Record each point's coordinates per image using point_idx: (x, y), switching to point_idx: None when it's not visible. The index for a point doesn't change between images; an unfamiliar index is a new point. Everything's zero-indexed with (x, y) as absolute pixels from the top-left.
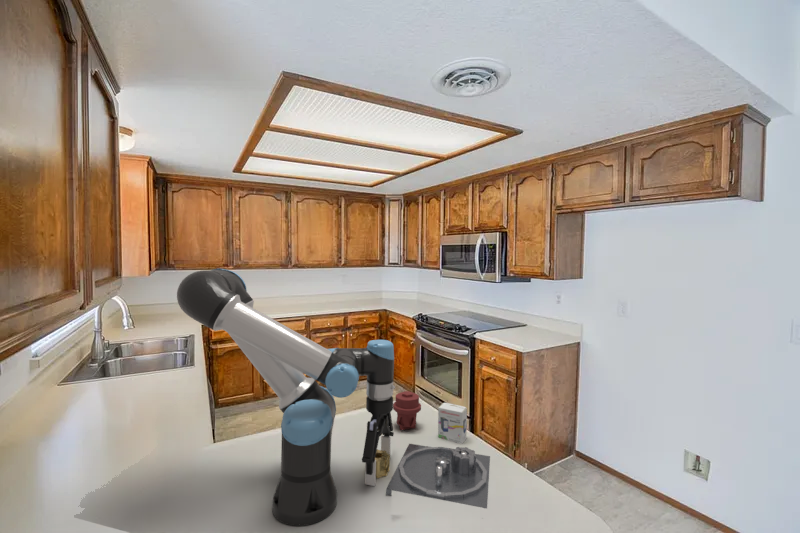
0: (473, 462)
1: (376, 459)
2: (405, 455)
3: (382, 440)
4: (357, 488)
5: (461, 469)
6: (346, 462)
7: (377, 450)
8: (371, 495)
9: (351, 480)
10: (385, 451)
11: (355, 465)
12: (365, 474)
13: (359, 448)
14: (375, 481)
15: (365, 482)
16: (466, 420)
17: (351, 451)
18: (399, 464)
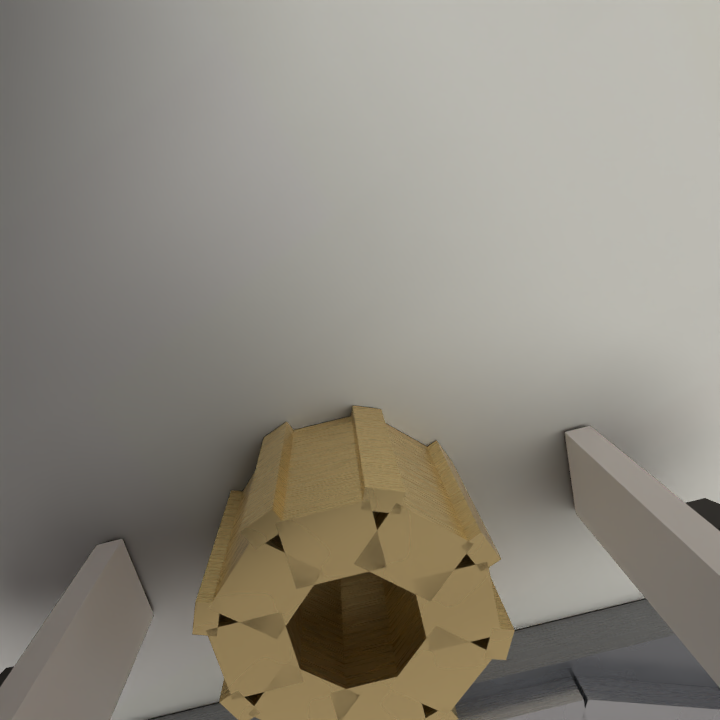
0: None
1: (262, 670)
2: (660, 656)
3: (691, 566)
4: (11, 519)
5: None
6: (318, 141)
7: (470, 565)
8: (17, 656)
9: (71, 402)
10: (494, 654)
11: (321, 274)
12: (55, 612)
13: (678, 83)
14: (140, 638)
15: (91, 559)
16: None
17: (570, 31)
18: (481, 689)
